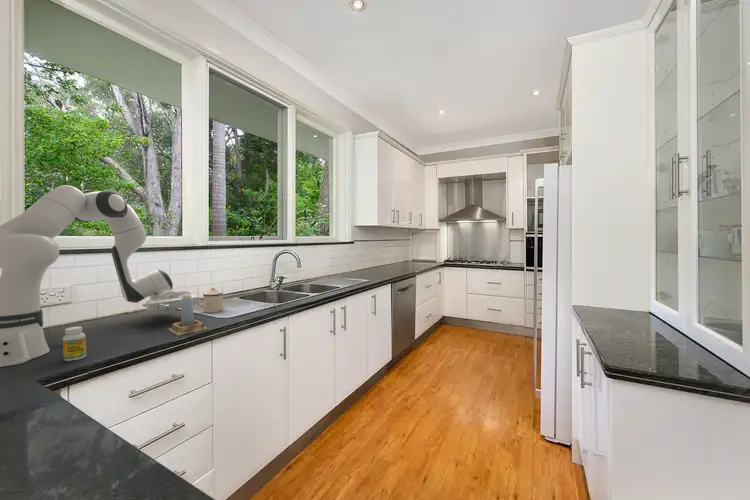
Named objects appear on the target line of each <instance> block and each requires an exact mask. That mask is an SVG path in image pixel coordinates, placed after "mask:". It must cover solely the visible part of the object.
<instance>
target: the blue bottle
mask: <svg viewBox="0 0 750 500" xmlns="http://www.w3.org/2000/svg"><path fill="white" fill-rule="evenodd" d="M194 319H195V318H194V305H193V298H191V295H190V294H185V295H183V297H182V299H181V307H180V320H181V321H180V322H181V327H183V326H189V325H194Z"/></svg>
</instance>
